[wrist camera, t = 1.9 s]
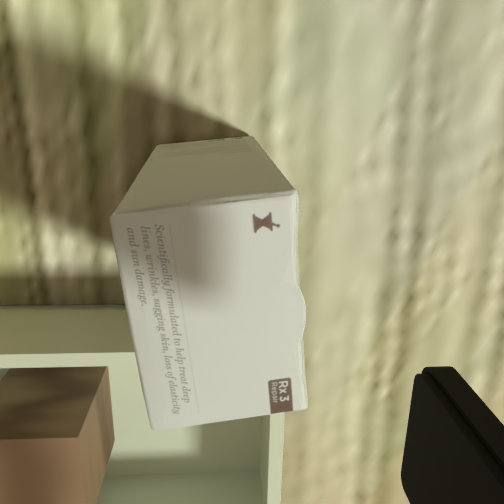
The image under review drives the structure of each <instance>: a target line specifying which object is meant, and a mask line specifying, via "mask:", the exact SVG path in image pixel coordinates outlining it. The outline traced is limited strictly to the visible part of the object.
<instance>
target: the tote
mask: <svg viewBox="0 0 504 504" xmlns="http://www.w3.org/2000/svg"><path fill="white" fill-rule="evenodd" d="M91 366H108V369H109V381H110V392H111V403H112V415H113V426H114V437H115V441H114V445H113V448H112V451H111V455H110V458H109V461H108V465H107V468H106V472H105V475H104V478H103V482H102V485H101V488H100V492H99V495H98V498H97V502H96V504H281V482H282V460H283V438H284V416H285V412H281V413H275V414H270V415H263V416H256V417H249V418H242V419H235V420H228V421H221V422H213V423H207V424H201V425H194V426H186V427H179V428H172V429H161V430H153V429H151V426H150V422H149V418H148V414H147V409H146V405H145V400H144V396H143V391H142V387H141V382H140V377H139V371H138V366H137V361H136V357H135V352H134V347H133V343H132V338H131V333H130V328H129V323H128V318H127V312H126V307H125V304H111V305H23V306H0V381H1V380H2V378H3V377H4V376H5V374H6V373H7V372H8V370H9V369H10V368H40V367H91Z"/></svg>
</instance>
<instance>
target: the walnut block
mask: <svg viewBox="0 0 504 504" xmlns="http://www.w3.org/2000/svg"><path fill="white" fill-rule="evenodd" d="M114 441H115V437H114V426H113V415H112V403H111V392H110V381H109V369H108V366H91V367H40V368H10V369H9V370H8V372H7V373H6V374H5V376H4V377H3V378H2V380H1V381H0V504H96V502H97V498H98V495H99V492H100V488H101V485H102V482H103V478H104V475H105V472H106V468H107V465H108V461H109V458H110V455H111V451H112V448H113V445H114Z"/></svg>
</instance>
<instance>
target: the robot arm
mask: <svg viewBox="0 0 504 504" xmlns="http://www.w3.org/2000/svg"><path fill="white" fill-rule="evenodd" d="M401 480H402V485H403V489H404V491H405V493H406V496H407V498H408V500H409V502H410V504H504V425H503V424H502V423H501V422H500V421H499V419H498V418H497V417H496V416H495V415H494V414H493V412H492V411H491V410H490V409H489V408H488V407H487V406H486V404H485V403H484V402H483V401H482V400H481V399H480V397H479V396H478V395H477V394H476V393H475V392H474V390H473V389H472V388H471V387H470V386H469V385H468V384H467V382H466V381H465V380H464V379H463V378H462V377H461V375H460V374H459V373H458V372H457V371H456V370H455V369H454V368H453V367H450V366H446V367H425V368H424V369H423V371H422V374H417V375H416V376H415V379H414V384H413V391H412V398H411V405H410V413H409V420H408V427H407V434H406V441H405V448H404V455H403V462H402V469H401Z"/></svg>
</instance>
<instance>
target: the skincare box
mask: <svg viewBox="0 0 504 504" xmlns="http://www.w3.org/2000/svg"><path fill="white" fill-rule="evenodd" d="M298 209H299V198H298V193H297V191H296V189H295V188H294V187H293V186H292V185H291V184H290V183H289V181H288V180H287V179H286V178H285V176H284V175H283V174H282V173H281V171H280V170H279V169H278V168H277V166H276V165H275V164H274V162H273V161H272V160H271V159H270V157H269V156H268V155H267V154H266V152H265V151H264V150H263V149H262V147H261V146H260V145H259V143H258V142H257V141H256V140H255V138H254V137H252V136H245V137H234V138H223V139H212V140H202V141H192V142H181V143H171V144H161V145H157V146H156V147H155V149H154V150H153V152H152V153H151V155H150V156H149V158H148V160H147V161H146V163H145V164H144V166H143V167H142V169H141V171H140V172H139V174H138V175H137V177H136V179H135V180H134V182H133V183H132V185H131V187H130V188H129V190H128V191H127V193H126V194H125V196H124V198H123V199H122V201H121V202H120V204H119V205H118V207H117V208H116V210H115V211H114V213H113V214H112V215H111V216H110V224H111V230H112V235H113V241H114V246H115V252H116V257H117V263H118V269H119V274H120V280H121V285H122V291H123V297H124V302H125V307H126V312H127V318H128V323H129V328H130V333H131V338H132V343H133V347H134V352H135V357H136V361H137V366H138V371H139V377H140V382H141V387H142V391H143V396H144V400H145V405H146V409H147V414H148V418H149V422H150V426H151V429H153V430H161V429H172V428H179V427H186V426H194V425H201V424H207V423H213V422H221V421H228V420H235V419H242V418H249V417H256V416H263V415H270V414H275V413H281V412H288V411H297V410H304V409H307V407H308V400H307V388H306V375H305V363H304V347H303V331H304V328H305V323H306V305H305V300H304V297H303V295H302V292H301V290H300V278H299V259H298Z"/></svg>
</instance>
